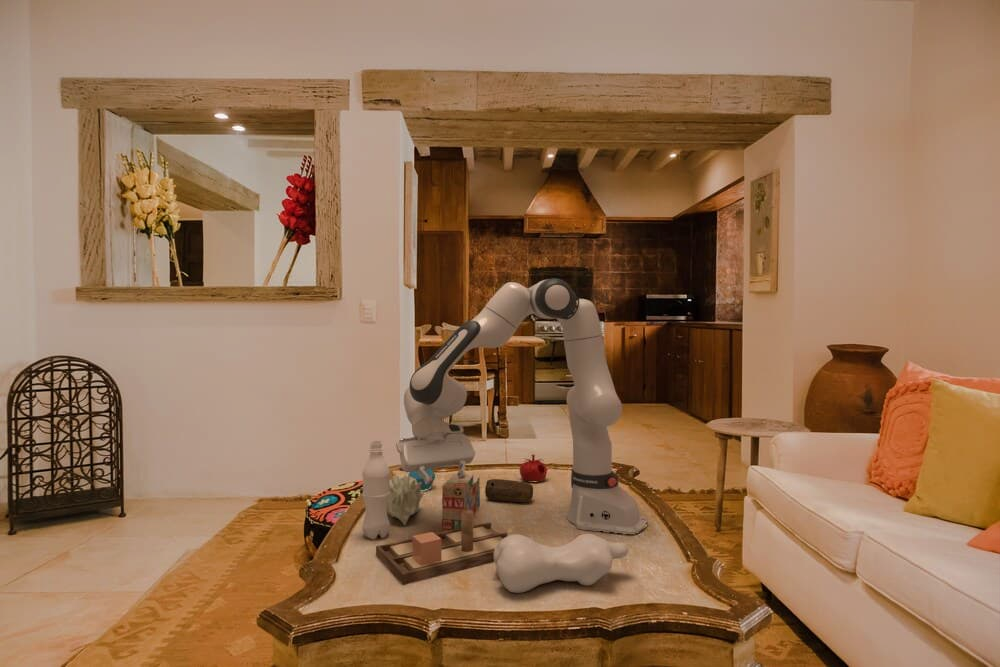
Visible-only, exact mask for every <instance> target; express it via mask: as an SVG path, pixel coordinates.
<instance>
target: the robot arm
mask: <svg viewBox="0 0 1000 667" xmlns="http://www.w3.org/2000/svg"><path fill="white" fill-rule="evenodd" d="M595 306H596V305H595V304H594V303H593V302H592V301H591V300H588V299H586V298H585V299H584V298H579V297H578V296H577V294H576V293H575V292H574V290H573V288H571V286H570V285H569V284H568V282H566V281H564V280H563V279H559V278H557V277H556V278H547V279H543V280H541V281H540V280H539V282H537V283H535V284H533V285H531V286H529V287H525V286H524V285H522V284H521V283H518V282H515V281H514V282H513V281H511V282H510V281H509V282H506V283H505V284H503V285H502V286H501V287H500V288H499V289H498V290H497V291H496V292H495V293H494V294H493V296H492V297H490V299H489V300H488V302H487V303H486V304H485V306H484V307H483V308H482V310H481V311H480V312H479V313H478V314H477V315H476V316H475V317H473V319H471V320H468V321H465V322H464V323H462V324H460V326H459V327H458V328H457V329H456V330H455V331H454V332H453V333H452V334H451V335H450V336H449V337H448V339H447V340H446V341H445V342H444V343H442V346H440V347H439V349H438V350H437V351H436V352H435V353H434V354H433V355H432V356H431V357H430V358H429V360H427V361H426V362H425V363H423V364H422V365H420V367H418V368H417V369H416V370H415V371H414V373H413V374H412V376H411V378H410V379H409V386H408V387H407V388H406V389H405V391H404V394H403V405H404V410H405V413H406V417H407V420H408V422H409V423H410V424H411V433H412V436H413V437H407V438H400V439H399V440H397V442H396V444H395V446H396V450H397V452H398V453H399V460H400V466H401V469H402V471H403V472H405V473H410V472H413V471H417V473H418V475H419V476H421V477H422V478H423V479H424V481H425V484H431V483H432V482H433V483H434V481H433V479H432V476H431V475H428V474H427V473H426V472H425V471H424V470H427V469H432V470H434V469H441V468H448V467H454V466H457V467H458V468H459V470H458V472H457V473H456V474H457V475H458V478H459V479H463V478H465V477H466V475H467V474H466V471H465V468H466V465H468V464H471V463H472V462H473V460H474V458H475V457H476V451H475V448H474V447H473V444H472V442H471V441H470V438H469V437H468V436H467V435H466V434H464V431H465V430H464V427H463V426H462V425H459V424H454V423H451V422H447V421H444V420H443V419H447V418H449V417H452V416H453V415H454V414H456V413H458V412H459V411H461V410H462V409H463V407H464V406H465V404H467V399H468V390H467V387H466V385H464V384H463V383H461V382H460V381H458V380H457V379H455V378H453V377H452V376H450V375H448V373H449V372H450V371H451V370H452V369H453V367H455V365H456V364H457V363H458V361H460V360H461V358H462V357H463V356H464V355H465V354H466V353H467V352H468V351H470V350H472V349H473V350H474V349H475V348H486V349H496V348H500V347H503V346H504V345H505V344H506V343H507V342H508V341H510V339H511V338H512V337H513V335H514V334H515V332H516V331H517V330H518V328H519V327H520V325H521V323H522V322H523V321H524V320H525V319H526V318H527V317H528V316H532V317H535V318H538V319H545V320H552V319H556V320H557V321H558V322H559V324H560V326H561V329H562V336H563V343H564V350H565V352H564V353H565V357H566V362H567V363H566V364H567V369H568V370H569V372H570V375H571V379H572V381H573V386H571V387H570V388H569V390H568V391H567V395H566V404H567V408H568V416H569V423H570V424H569V426H570V429H571V437H572V469H571V474H570V475H571V476H570V483H571V484H570V486H571V489H572V490H571V496H570V497H571V499H570V503H569V508H568V512H567V516H566V519H567V520H568V521H569V522H570V523H571V524H573V525H575V527H576V528H577V529H579V530H585V531H593V532H600V531H603V533H609V532H614V533H613V534H617V533H625V534H624V535H626V534H633V533H637V532H639V531H641V530H642V529H643V528H644V527H645V525H646V523H647V524H648V519H647V518H646V516H643V515H640V512H639V506H638V502H637V500H636V499H635V497H633V496H632V495H630V493H628V492H627V491H626V490H624V489H623V488H622V487H621V486H620V485H619V479H620V473H618V474H616V472H614V471H613V466H612V464H613V463H612V462H613V461H612V460H613V459H612V458H613V457H612V456H613V454H612V452H613V450H612V447H613V445H612V441H611V439H610V436H609V435H610V434H609V431H608V427H609V426H613V425H614V424H615V423H617V422H618V421H619V419H620V418H621V415H622V413H623V405H622V401H621V400H620V397H619V396H618V394H617V392H616V389H615V385H614V382H613V379H612V375H611V373H610V370H609V366H608V363H607V358H606V357H607V356H606V352H605V345H604V344H605V343H604V339H603V338H604V337H603V333H602V326H601V321H600V317H599V315H598V312H597V309H596V307H595ZM643 520H644V521H643Z"/></svg>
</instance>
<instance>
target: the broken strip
mask: <svg viewBox="0 0 1000 667" xmlns="http://www.w3.org/2000/svg"><path fill="white" fill-rule="evenodd" d="M491 535H494V533H492V532H491V531H489V530H487V529H486V528H484V527H483V526H482V527H478V528H473V539H478V538H482V537H487V536H491ZM446 540H447V541H449V542H450V543H451V544H456V543H460V542H461V531H459V532H454V533H450V534H446ZM390 552H391V553H392V554H393V555H394V556H395V557H399V556H403V555H407V554H412V553H413V542H408V543H403V544H399V545H394V546H390Z"/></svg>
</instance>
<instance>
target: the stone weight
mask: <svg viewBox="0 0 1000 667" xmlns="http://www.w3.org/2000/svg"><path fill="white" fill-rule="evenodd" d="M484 493H485V497H486V499H489V500H492V501H498V502H509V503H510V502H511V503H530V501H532V499H533V496H534V487H533V485H532V484H531V483H530V482H526V481H524V482H523V481H519V480H512V479H511V480H509V479H501V478H492V479H488V480H486V484H485V489H484Z"/></svg>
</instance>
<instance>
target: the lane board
mask: <svg viewBox="0 0 1000 667" xmlns="http://www.w3.org/2000/svg"><path fill="white" fill-rule="evenodd" d="M482 526H483V527H484V528H486V529H487V530H489V531H491V532H492V533H494V535H491V536H487V537H482V538H478V539H473V542H478V541H482V540H486V539H491V538H495V537H499V536H500V537H502V538H503V539H504V538H505V537H507V536H509V535H508V532H506V531H505V532H498V531H497V530H495V529H493V528H492V522H484V523H479V524H475V525H474V524H473V528H478V527H482ZM459 531H461V528H460V529H455V530H447V531H442V532H437V533H436V532H435V534H436V535H437V536H438V537H440V538H441V550H443V549H447V548H452V547H456V546H460V545H461V542H460V543H456V544H451V543H450V542H449V541H447V540H446V534H450V533H454V532H459ZM408 542H413V538H409V539H405V540H404V539H403V540H399V541H395V542H391V543H386V544H380V545H376V546H375V551H376V552H375V555H376V557H377V558H378V559H379V560H380V561H381V562H382V564H384V565H385V567H386V568H387V569H388V570H389V571H390V573H392V574H393V575H394V576H395V578H396V579H397V580H398V581H399V582H400V583H401V584H402V585H407V584H411V583H415V582H420V581H424V580H427V579H432V578H435V577H439V576H443V575H447V574H452V573H454V572H458V571H463V570H466V569H471V568H474V567H478V566H481V565H486V564H491V563H493V562H494V556H493V555H494V550H493V551H489V552H485V553H481V554H477V555H473V556H469V557H465V558H461V559H456V560H452V561H448V562H444V563H440V564H436V565H432V566H428V567H424V568H420V569H415V570H411V571H410V570H409V569H408V568H407V567H406V566H405V565H404V558H408V557H413V553H412V554H407V555H403V556H399V557H395V556H394V555H393V554H392V553H391V552H390V546H394V545H399V544H403V543H408ZM494 563H495V562H494Z"/></svg>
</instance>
